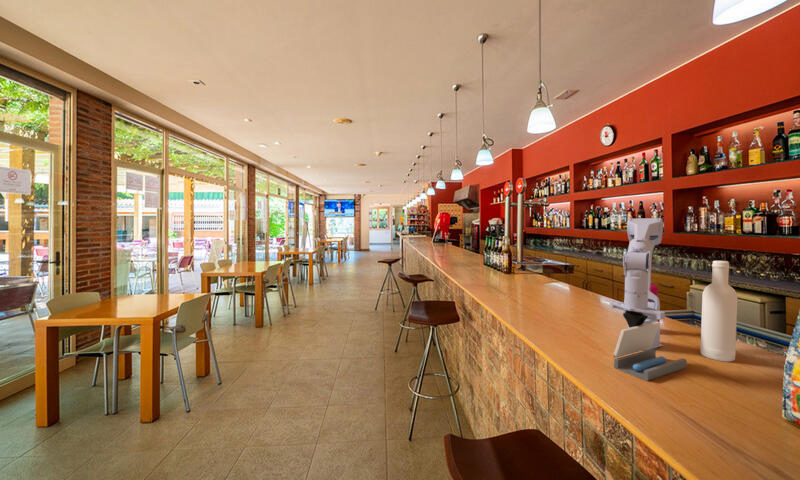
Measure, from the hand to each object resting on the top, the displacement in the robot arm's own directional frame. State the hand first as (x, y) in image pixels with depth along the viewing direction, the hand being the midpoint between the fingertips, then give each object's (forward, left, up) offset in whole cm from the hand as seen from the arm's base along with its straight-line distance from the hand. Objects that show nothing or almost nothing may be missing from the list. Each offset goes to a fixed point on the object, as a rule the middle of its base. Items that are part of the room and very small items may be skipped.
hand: (634, 336), depth 99 cm
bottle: (-27, +8, -8) cm, 30 cm away
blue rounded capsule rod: (0, +4, -8) cm, 9 cm away
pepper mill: (-34, -16, -8) cm, 38 cm away
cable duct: (0, +4, -8) cm, 9 cm away
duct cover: (0, +1, -1) cm, 1 cm away
